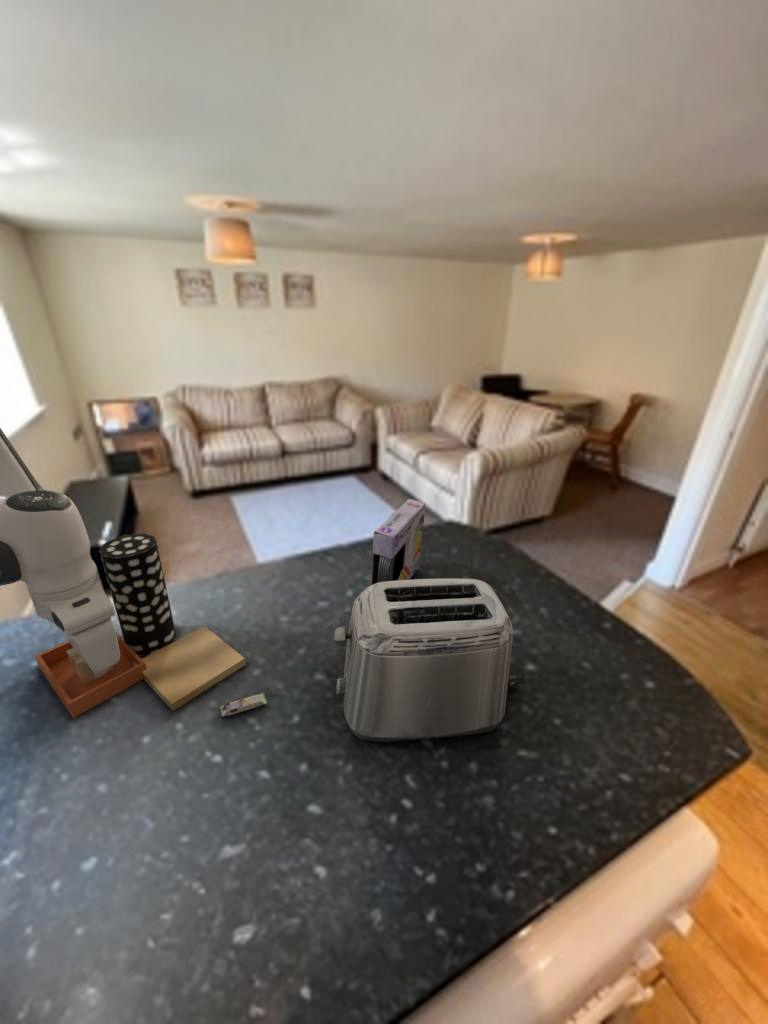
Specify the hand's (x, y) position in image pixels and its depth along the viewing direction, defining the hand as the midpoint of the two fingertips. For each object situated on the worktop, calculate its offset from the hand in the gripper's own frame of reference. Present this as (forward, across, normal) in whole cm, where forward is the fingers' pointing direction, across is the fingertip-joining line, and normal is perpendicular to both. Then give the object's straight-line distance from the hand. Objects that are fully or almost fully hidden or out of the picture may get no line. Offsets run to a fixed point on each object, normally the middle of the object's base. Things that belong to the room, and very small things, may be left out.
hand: (90, 662), depth 74 cm
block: (+2, 0, 0) cm, 2 cm away
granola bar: (+2, +25, +12) cm, 28 cm away
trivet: (+2, +11, +11) cm, 16 cm away
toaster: (+2, +46, +32) cm, 56 cm away
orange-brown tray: (+2, 0, 0) cm, 2 cm away
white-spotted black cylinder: (+2, -1, +10) cm, 10 cm away
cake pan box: (+2, +22, +54) cm, 59 cm away
